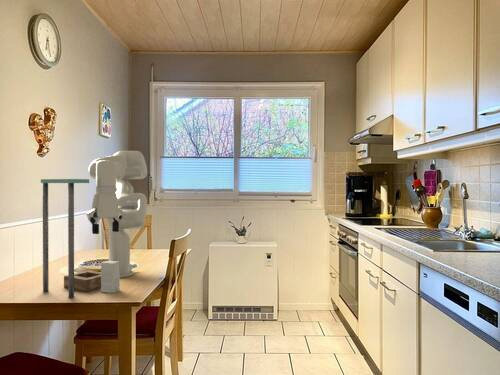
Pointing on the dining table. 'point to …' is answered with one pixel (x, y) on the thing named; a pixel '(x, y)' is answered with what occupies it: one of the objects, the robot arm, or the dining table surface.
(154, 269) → the dining table surface
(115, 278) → the skincare box
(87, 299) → the dining table surface
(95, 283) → the brown shallow box
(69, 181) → the two-post crossbar frame
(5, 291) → the dining table surface
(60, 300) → the dining table surface
